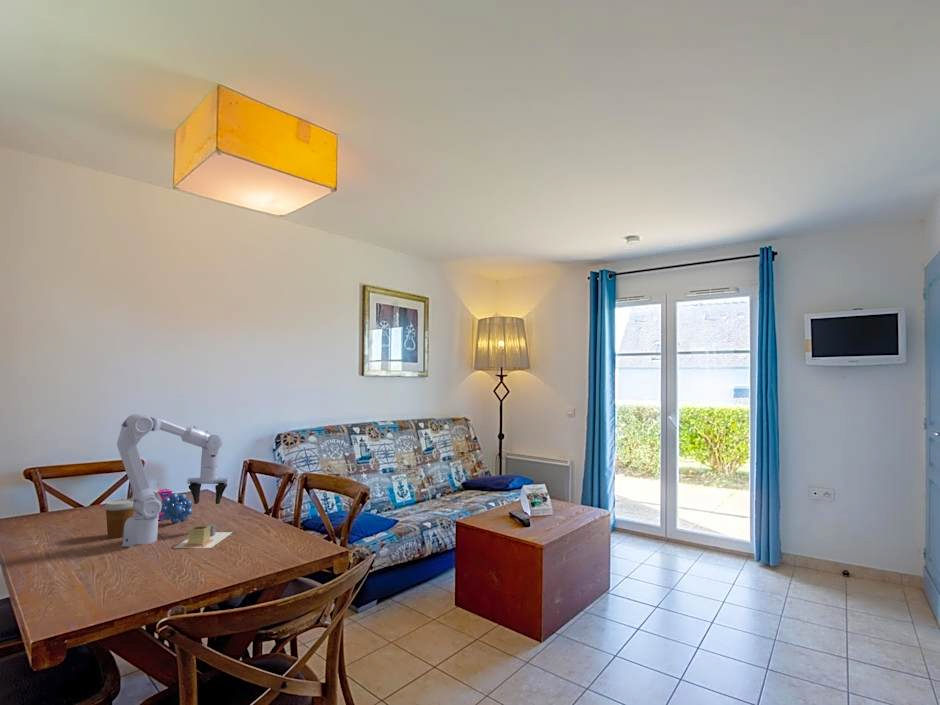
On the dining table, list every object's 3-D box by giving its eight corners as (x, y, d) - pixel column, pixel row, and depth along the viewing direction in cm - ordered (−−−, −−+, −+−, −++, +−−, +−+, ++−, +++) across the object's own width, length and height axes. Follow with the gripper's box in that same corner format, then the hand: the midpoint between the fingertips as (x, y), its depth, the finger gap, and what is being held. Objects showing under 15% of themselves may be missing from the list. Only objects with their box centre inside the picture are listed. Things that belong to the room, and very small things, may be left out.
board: (173, 550, 166) (174, 536, 166) (198, 534, 184) (199, 522, 184) (210, 550, 167) (211, 536, 167) (232, 534, 185) (233, 522, 185)
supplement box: (154, 521, 199) (156, 492, 200) (148, 519, 203) (150, 490, 204) (170, 519, 204) (172, 490, 205) (164, 516, 207) (166, 488, 208)
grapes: (160, 528, 191) (163, 496, 191) (157, 524, 196) (159, 493, 196) (195, 523, 198) (196, 492, 199) (190, 519, 203) (192, 489, 204)
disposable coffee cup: (95, 537, 177) (98, 503, 178) (121, 530, 186) (123, 497, 187) (115, 540, 174) (118, 505, 175) (140, 533, 183) (143, 500, 184)
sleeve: (187, 545, 168) (188, 529, 169) (194, 540, 173) (195, 525, 174) (203, 545, 169) (204, 529, 169) (209, 540, 174) (210, 525, 174)
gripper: (233, 465, 193) (231, 501, 192) (194, 464, 192) (192, 500, 191) (225, 468, 186) (223, 505, 185) (185, 467, 185) (183, 505, 184)
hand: (207, 503), depth 188 cm, fingers open, 7 cm apart
